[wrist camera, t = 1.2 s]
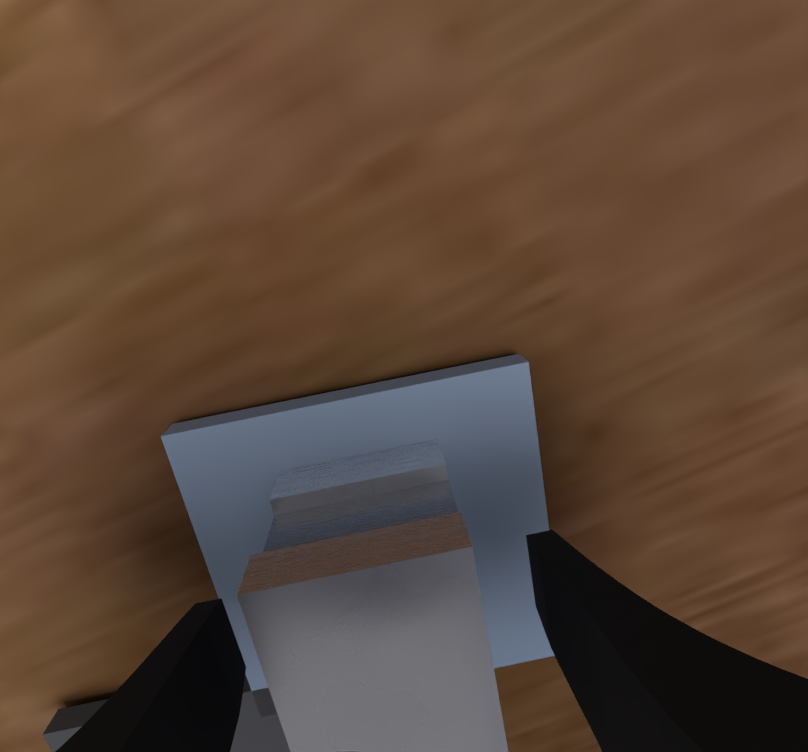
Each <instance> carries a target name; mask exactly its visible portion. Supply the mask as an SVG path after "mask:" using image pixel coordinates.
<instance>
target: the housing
mask: <svg viewBox="0 0 808 752" xmlns="http://www.w3.org/2000/svg"><path fill="white" fill-rule="evenodd" d="M270 503H271V506H272V510H273V513H274V518H273V521H272V524H271V527H270V531H269V534H268V537H267V540H266V543H265V547H264V550H263V552H262V553H257V554H252V555H250V558H249V561H248V564H247V567H246V570H245V573H244V576H243V579H242V582H241V585H240V588H239V590H238V593H237V597H238V600H239V603H240V606H241V609H242V612H243V615H244V618H245V621H246V624H247V626H248V629H249V632H250V635H251V638H252V641H253V644H254V647H255V650H256V653H257V656H258V658H259V661H260V664H261V667H262V670H263V673H264V676H265V679H266V682H267V685H268V688H269V690H270V693H271V696H272V699H273V702H274V705H275V708H276V711H277V714H278V717H279V720H280V722H281V725H282V728H283V731H284V734H285V737H286V740H287V743H288V746H289V749H290V752H508V746H507V741H506V735H505V729H504V723H503V718H502V712H501V706H500V701H499V695H498V689H497V684H496V678H495V672H494V666H493V661H492V655H491V649H490V644H489V638H488V632H487V627H486V621H485V615H484V609H483V604H482V598H481V592H480V587H479V581H478V575H477V570H476V564H475V558H474V552H473V547H472V544H471V541H470V537H469V534H468V531H467V528H466V525H465V522H464V519H463V516H462V513H461V512H459V511H458V508H457V505H456V502H455V499H454V496H453V492H452V489H451V486H450V483H449V480H448V474H447V469H446V464H445V461H444V457H443V454H442V451H441V448H440V445H439V442H438V439H434V440H429V441H424V442H419V443H414V444H409V445H404V446H399V447H394V448H389V449H385V450H380V451H375V452H370V453H365V454H360V455H355V456H350V457H345V458H340V459H335V460H331V461H326V462H321V463H316V464H311V465H306V466H301V467H296V468H291V469H286V470H282V471H279V474H278V477H277V480H276V483H275V485H274V488H273V491H272V494H271V497H270Z"/></svg>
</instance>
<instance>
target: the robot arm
mask: <svg viewBox="0 0 808 752" xmlns="http://www.w3.org/2000/svg"><path fill="white" fill-rule="evenodd" d="M526 539H527V546H528V554H529V561H530V568H531V576H532V583H533V590H534V597H535V605H536V608H537V611H538V614H539V617H540V619H541V622H542V625H543V628H544V630H545V633H546V636H547V638H548V641H549V644H550V646H551V649H552V651H553V653H554V655H555V657H556V659H557V661H558V663H559V665H560V667H561V669H562V671H563V673H564V675H565V677H566V679H567V681H568V683H569V685H570V687H571V689H572V691H573V693H574V695H575V697H576V699H577V701H578V703H579V705H580V707H581V709H582V711H583V713H584V715H585V717H586V719H587V721H588V723H589V725H590V727H591V729H592V731H593V733H594V735H595V737H596V739H597V741H598V743H599V745H600V747H601V750H602V752H808V679H806V678H804V677H801V676H798V675H796V674H793V673H791V672H788V671H785V670H783V669H780V668H778V667H775V666H773V665H770V664H768V663H766V662H763V661H761V660H758V659H756V658H754V657H751V656H749V655H747V654H745V653H743V652H741V651H738V650H736V649H734V648H732V647H730V646H728V645H726V644H723V643H721V642H719V641H717V640H715V639H713V638H711V637H709V636H707V635H705V634H703V633H701V632H699V631H697V630H696V629H694V628H692V627H690V626H688V625H686V624H685V623H683V622H681V621H679V620H677V619H676V618H674V617H672V616H670V615H668V614H667V613H665V612H663V611H662V610H660V609H658V608H657V607H655V606H654V605H652V604H651V603H649V602H647V601H646V600H644V599H643V598H641V597H640V596H638V595H637V594H635V593H634V592H632V591H631V590H629V589H628V588H627V587H625V586H624V585H622V584H621V583H619V582H618V581H617V580H615V579H614V578H613V577H611V576H610V575H609V574H607V573H606V572H604V571H603V570H602V569H600V568H599V567H598V566H596V565H595V564H594V563H593V562H591V561H590V560H589V559H587V558H586V557H585V556H584V555H582V554H581V553H580V552H579V551H577V550H576V549H575V548H574V547H573V546H571V545H570V544H569V543H568V542H566V541H565V540H564V539H563V538H562V537H560V536H559V535H558V534H557V533H555V532H554V531H553V530H548V531H544V532H539V533H534V534H529V535H526ZM245 672H246V665H245V662H244V660H243V657H242V654H241V651H240V648H239V646H238V643H237V640H236V637H235V634H234V632H233V629H232V626H231V623H230V621H229V618H228V615H227V612H226V609H225V607H224V604H223V601H222V598H221V599H216V600H211V601H206V602H202V603H197V604H195V605H194V606H193V607H192V608H191V609H190V610H189V611H188V612H187V613H186V614H185V615H184V617H183V618H182V619H181V620H180V621H179V622H178V623H177V624H176V626H175V627H174V628H173V629H172V630H171V631H170V632H169V633H168V635H167V636H166V637H165V638H164V639H163V640H162V641H161V643H160V644H159V645H158V646H157V647H156V648H155V649H154V650H153V652H152V653H151V654H150V655H149V656H148V657H147V658H146V659H145V661H144V662H143V663H142V664H141V665H140V666H139V667H138V668H137V669H136V671H135V672H134V673H133V674H132V675H131V676H130V677H129V678H128V679H127V680H126V682H125V683H124V684H123V685H122V686H121V687H120V688H119V689H118V690H117V691H116V692H115V693H114V694H113V695H112V696H111V697H110V698H109V699H108V700H107V701H106V702H105V703H104V704H103V705H102V707H101V708H100V709H99V710H98V711H97V712H96V713H95V714H94V715H93V716H92V717H91V718H90V719H89V720H88V721H87V722H86V723H85V724H84V725H83V726H82V727H81V728H80V729H79V730H78V731H77V732H76V733H75V734H74V735H73V736H72V737H71V738H69V739H68V740H67V741H66V742H65V743H64V744H63V745H62V746H61V747H60V748H59V749H58V750H57V751H55V752H230V750H231V746H232V742H233V738H234V735H235V731H236V727H237V723H238V719H239V715H240V709H241V702H242V695H243V688H244V680H245Z"/></svg>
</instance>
